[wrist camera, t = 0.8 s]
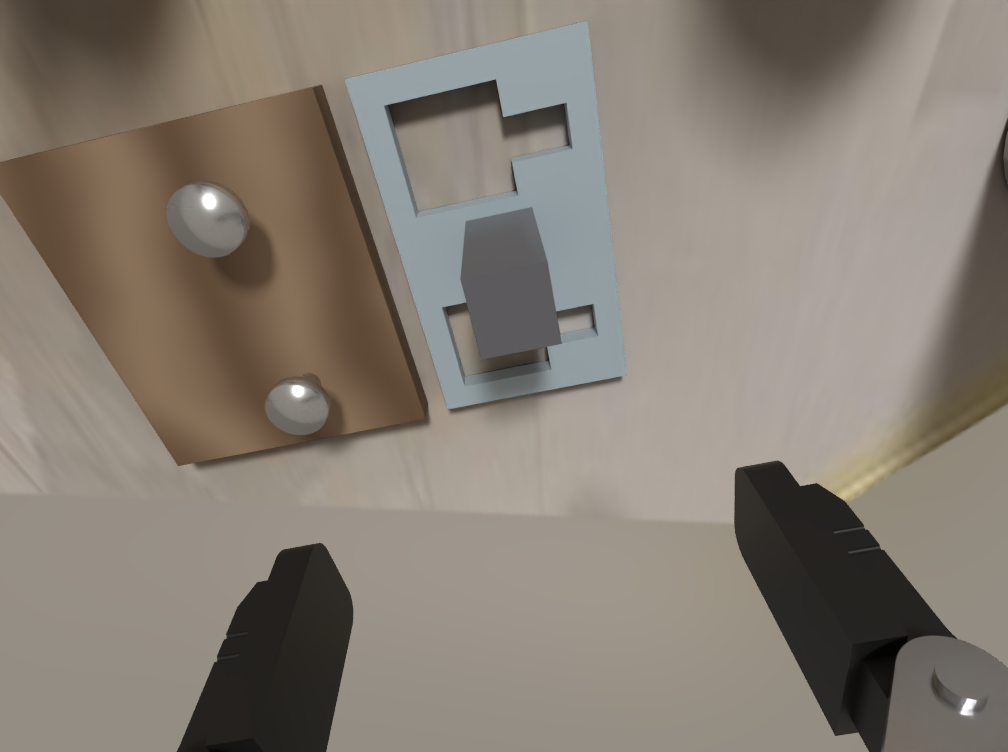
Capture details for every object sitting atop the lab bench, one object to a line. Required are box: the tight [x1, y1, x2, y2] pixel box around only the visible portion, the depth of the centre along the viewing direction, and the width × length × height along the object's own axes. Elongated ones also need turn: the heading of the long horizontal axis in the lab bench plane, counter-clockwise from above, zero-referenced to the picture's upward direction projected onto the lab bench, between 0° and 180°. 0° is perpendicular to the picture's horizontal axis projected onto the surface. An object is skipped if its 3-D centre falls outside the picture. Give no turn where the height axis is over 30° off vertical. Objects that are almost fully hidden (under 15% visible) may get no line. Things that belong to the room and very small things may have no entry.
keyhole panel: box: [345, 21, 627, 409], centre depth 23 cm, size 10×16×8 cm, turn 12°
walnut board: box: [0, 85, 428, 466], centre depth 26 cm, size 14×16×4 cm
